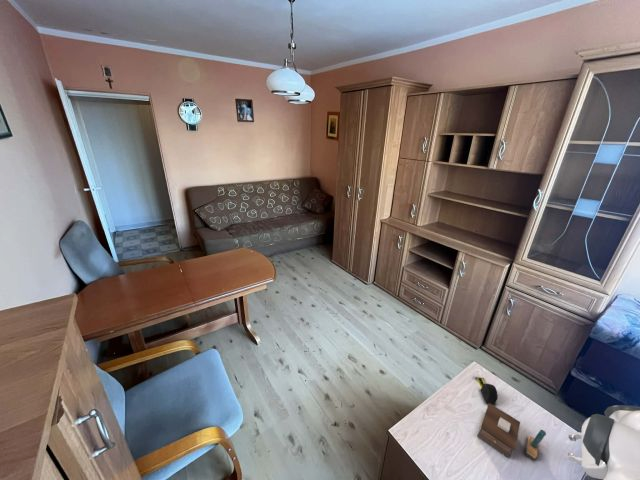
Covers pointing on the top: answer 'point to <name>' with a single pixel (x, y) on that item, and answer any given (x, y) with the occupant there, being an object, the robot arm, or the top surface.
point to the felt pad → (504, 424)
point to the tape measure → (488, 392)
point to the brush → (534, 444)
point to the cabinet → (498, 430)
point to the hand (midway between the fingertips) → (568, 446)
